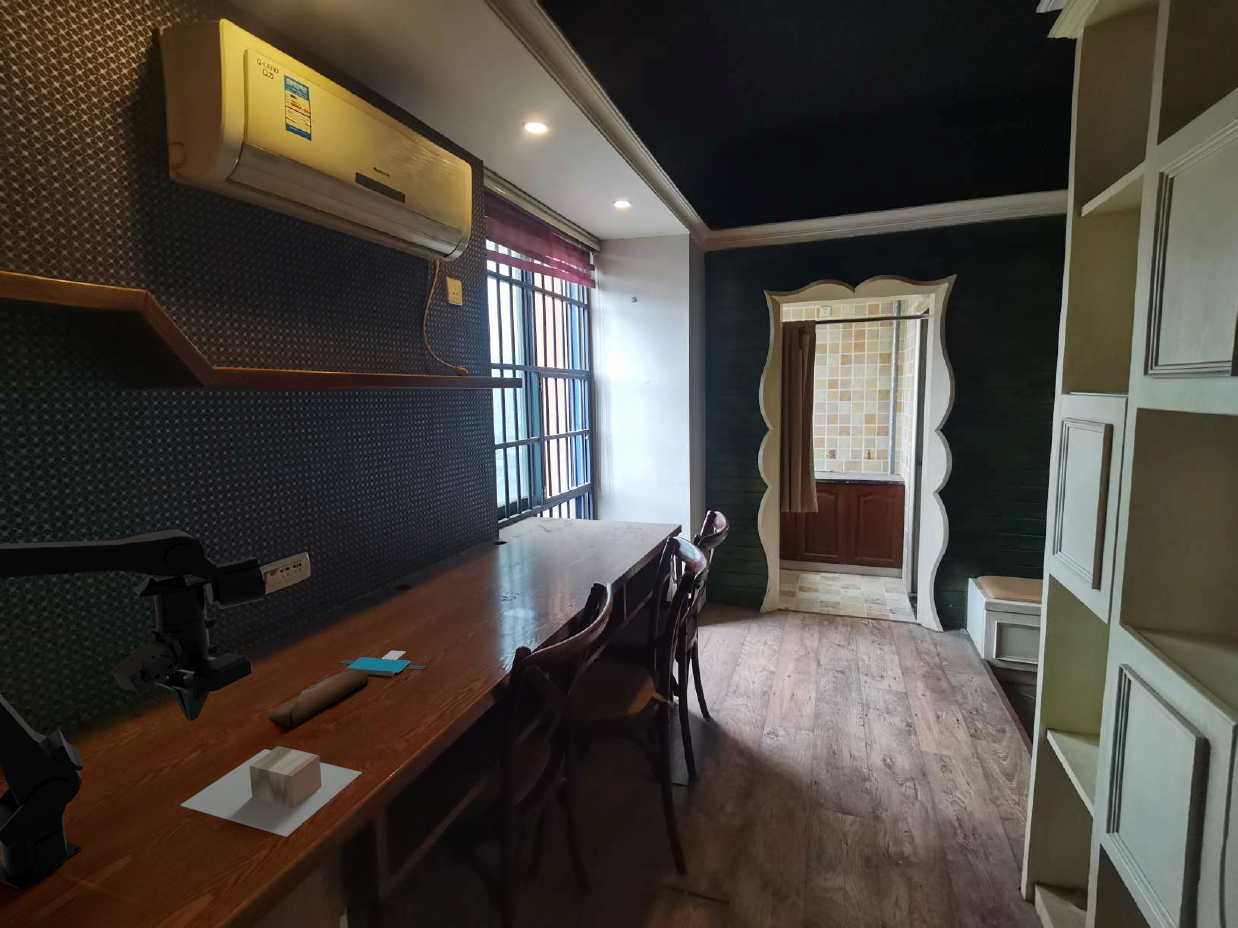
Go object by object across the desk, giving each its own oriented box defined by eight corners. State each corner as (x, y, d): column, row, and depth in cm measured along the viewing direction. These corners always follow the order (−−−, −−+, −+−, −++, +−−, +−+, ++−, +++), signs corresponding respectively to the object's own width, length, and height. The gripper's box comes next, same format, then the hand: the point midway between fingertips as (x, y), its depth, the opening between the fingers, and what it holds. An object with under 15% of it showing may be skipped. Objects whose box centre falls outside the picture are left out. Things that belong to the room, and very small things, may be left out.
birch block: (249, 765, 86) (291, 776, 83) (278, 745, 90) (319, 755, 88) (252, 796, 86) (294, 808, 84) (281, 775, 91) (321, 785, 89)
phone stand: (439, 656, 134) (438, 650, 134) (412, 682, 122) (411, 674, 122) (359, 651, 137) (359, 644, 137) (326, 675, 126) (325, 667, 125)
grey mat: (180, 807, 85) (179, 805, 85) (265, 751, 98) (265, 748, 98) (286, 839, 79) (286, 836, 79) (362, 774, 92) (362, 772, 92)
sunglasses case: (338, 676, 123) (348, 653, 122) (361, 697, 122) (372, 674, 120) (259, 721, 107) (270, 695, 105) (285, 746, 105) (297, 720, 103)
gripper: (72, 631, 80) (86, 738, 81) (170, 649, 74) (182, 764, 76) (158, 603, 90) (169, 698, 92) (250, 617, 84) (259, 718, 86)
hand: (192, 719), depth 86 cm, fingers closed
